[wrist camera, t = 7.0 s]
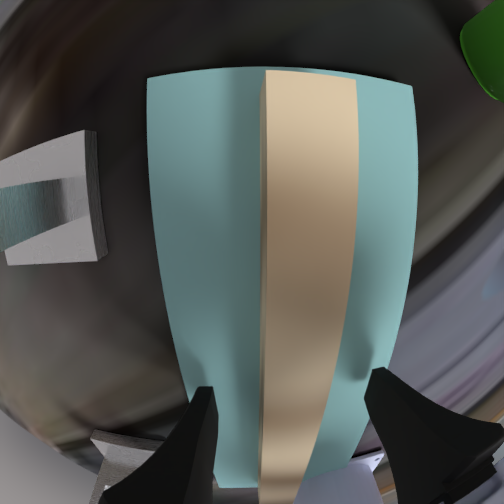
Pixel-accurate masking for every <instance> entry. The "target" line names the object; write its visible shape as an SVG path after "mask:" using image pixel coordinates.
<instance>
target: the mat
mask: <svg viewBox="0 0 504 504" xmlns="http://www.w3.org/2000/svg"><path fill="white" fill-rule="evenodd" d="M266 70H280V71H295V72H306V73H315V74H323V75H331V76H338V77H344V78H350V79H355V80H356V90H357V106H358V131H359V177H358V203H357V220H356V233H355V245H354V255H353V264H352V273H351V281H350V288H349V295H348V302H347V309H346V315H345V321H344V327H343V332H342V337H341V343H340V348H339V353H338V358H337V362H336V367H335V371H334V376H333V380H332V384H331V388H330V392H329V396H328V400H327V404H326V408H325V411H324V415H323V418H322V422H321V425H320V429H319V432H318V435H317V438H316V442H315V445H314V448H313V451H312V454H311V457H310V460H309V463H308V466H307V468H306V471H305V474H304V477H303V479H302V482H303V481H305V480H307V479H310V478H312V477H315V476H318V475H320V474H323V473H327V472H330V471H333V470H337V469H342V468H346V467H347V465H348V463H349V461H350V459H351V457H352V455H353V453H354V451H355V449H356V447H357V445H358V443H359V441H360V439H361V436H362V434H363V432H364V430H365V427H366V425H367V423H368V420H369V418H370V417H369V414H368V411H367V408H366V405H365V401H364V395H365V392H366V389H367V385H368V382H369V379H370V375H371V372H372V369H375V368H379V367H385V368H386V369H387V368H388V365H389V362H390V359H391V355H392V352H393V348H394V345H395V341H396V337H397V333H398V329H399V325H400V321H401V317H402V312H403V307H404V303H405V298H406V292H407V287H408V281H409V275H410V269H411V262H412V255H413V247H414V237H415V227H416V214H417V194H418V148H417V130H416V117H415V107H414V98H413V91H412V86H409V85H405V84H401V83H397V82H393V81H389V80H384V79H379V78H374V77H369V76H364V75H358V74H352V73H345V72H338V71H330V70H320V69H309V68H293V67H234V68H218V69H207V70H197V71H189V72H182V73H175V74H169V75H163V76H157V77H152V78H147V146H148V166H149V181H150V194H151V205H152V215H153V224H154V232H155V240H156V248H157V255H158V262H159V268H160V275H161V281H162V286H163V292H164V298H165V303H166V308H167V313H168V318H169V323H170V328H171V332H172V337H173V341H174V346H175V350H176V354H177V358H178V362H179V366H180V370H181V374H182V378H183V381H184V385H185V389H186V392H187V396H188V399H189V402H190V401H191V400H192V398H193V395H194V393H195V391H196V389H197V387H199V386H213V389H214V394H215V399H216V404H217V409H218V414H219V423H218V440H217V448H216V455H215V463H214V470H213V473H214V475H215V478H216V480H217V483H218V485H219V487H220V488H248V487H258V445H259V381H260V100H259V94H260V90H261V86H262V83H263V79H264V75H265V71H266Z"/></svg>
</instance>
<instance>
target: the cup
mask: <svg viewBox="0 0 504 504" xmlns="http://www.w3.org/2000/svg"><path fill="white" fill-rule="evenodd" d="M460 43H461V48H462V51H463V54H464V57H465V59H466V61H467V64H468V66H469V68H470V70H471V71H472V73H473V75H474V77H475V78H476V80H477V81H478V83H479V84H480V85H481V87H482V88H483V89H484V90H485V91H486V92H487V93H488V94H489V95H490V96H491V97H493V98H494V99H496V100H499V101H501V102H503V103H504V0H495V1H493V2H492V3H491V4H489V5H488V6H487V7H486V8H484V9H483V10H482V11H480V12H479V13H478V14H477V15H475V16H474V17H473V18H472V19H470V20H469V21H468V22H467V23H465V24H464V26H463V28H462V31H461V33H460Z"/></svg>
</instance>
